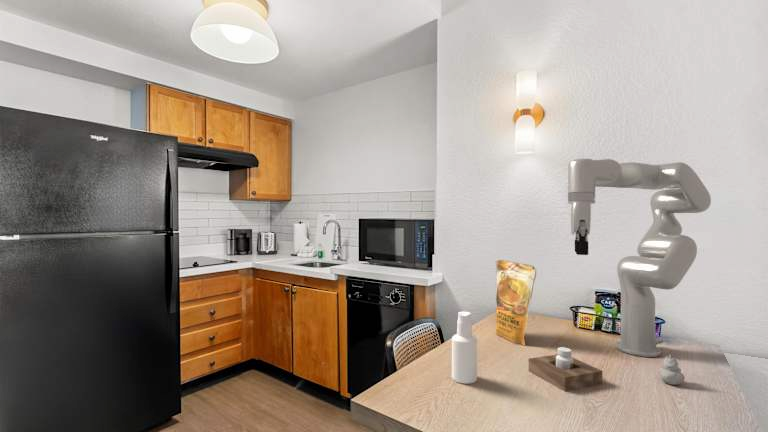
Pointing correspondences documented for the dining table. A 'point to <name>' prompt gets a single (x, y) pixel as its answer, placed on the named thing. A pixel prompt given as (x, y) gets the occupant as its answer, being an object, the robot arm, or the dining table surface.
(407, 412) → the dining table surface
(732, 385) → the dining table surface
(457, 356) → the spray bottle
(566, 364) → the pill bottle
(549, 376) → the holder block
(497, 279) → the pancake mix bag
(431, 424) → the dining table surface
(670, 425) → the dining table surface
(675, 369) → the grey swirl figurine
